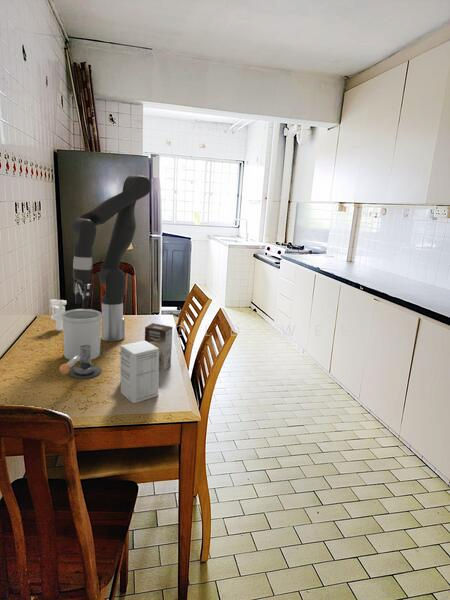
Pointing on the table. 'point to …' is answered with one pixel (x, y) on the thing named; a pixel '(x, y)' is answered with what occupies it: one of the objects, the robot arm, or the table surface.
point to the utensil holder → (81, 331)
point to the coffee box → (160, 342)
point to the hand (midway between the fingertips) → (81, 305)
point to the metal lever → (85, 362)
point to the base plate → (96, 373)
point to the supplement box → (139, 371)
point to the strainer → (58, 312)
